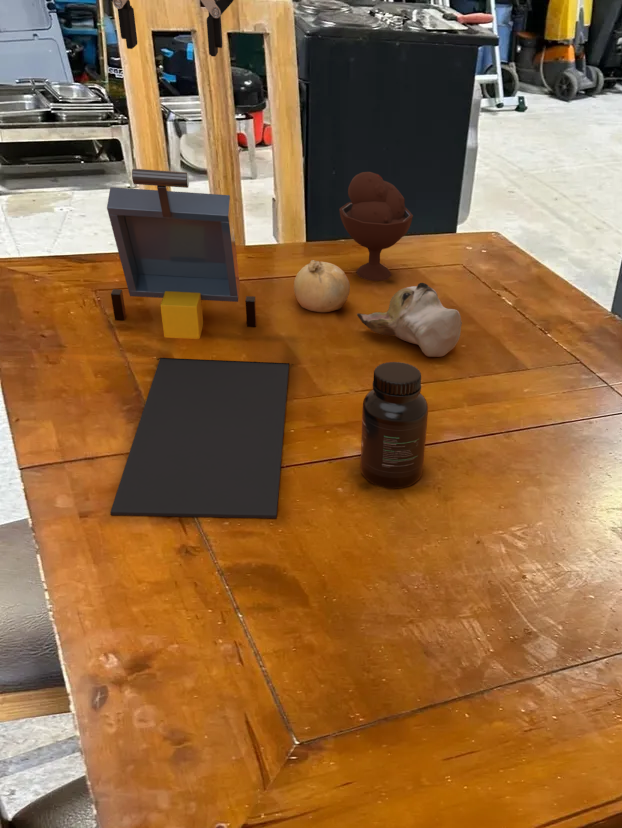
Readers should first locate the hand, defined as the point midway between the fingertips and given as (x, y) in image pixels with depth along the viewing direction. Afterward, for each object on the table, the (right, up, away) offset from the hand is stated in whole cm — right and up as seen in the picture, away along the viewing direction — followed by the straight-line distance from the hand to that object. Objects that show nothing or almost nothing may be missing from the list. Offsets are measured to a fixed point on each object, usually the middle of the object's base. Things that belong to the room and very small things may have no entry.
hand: (173, 50), depth 108 cm
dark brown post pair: (-2, -30, +12) cm, 32 cm away
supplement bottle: (+27, -53, -10) cm, 61 cm away
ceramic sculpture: (+29, -31, +15) cm, 45 cm away
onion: (+15, -25, +21) cm, 36 cm away
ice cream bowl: (+22, -16, +32) cm, 42 cm away
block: (-1, -31, +6) cm, 32 cm away
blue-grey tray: (0, -19, +3) cm, 20 cm away
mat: (+6, -45, -4) cm, 46 cm away
